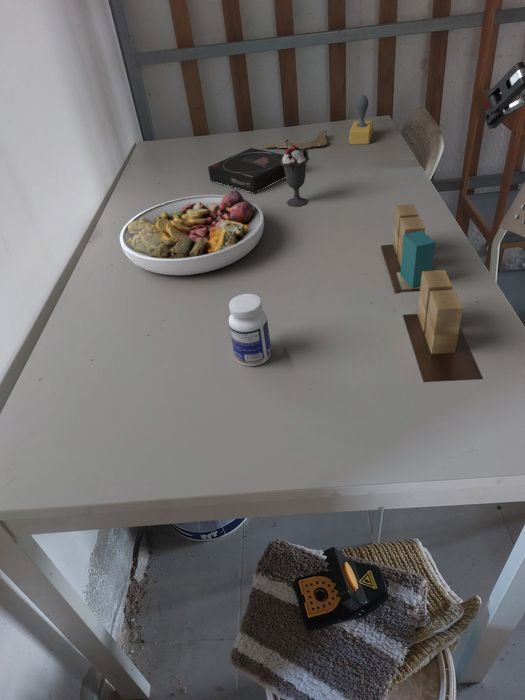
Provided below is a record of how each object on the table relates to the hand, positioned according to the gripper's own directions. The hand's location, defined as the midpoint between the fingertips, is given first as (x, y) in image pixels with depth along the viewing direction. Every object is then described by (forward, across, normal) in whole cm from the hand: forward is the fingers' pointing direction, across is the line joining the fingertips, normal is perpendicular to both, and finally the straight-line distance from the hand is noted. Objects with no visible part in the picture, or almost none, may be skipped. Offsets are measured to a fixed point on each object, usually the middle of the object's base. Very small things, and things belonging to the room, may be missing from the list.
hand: (518, 116), depth 68 cm
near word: (+14, +13, +26) cm, 32 cm away
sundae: (+57, +15, -16) cm, 61 cm away
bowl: (+49, +42, -8) cm, 65 cm away
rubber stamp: (+81, -16, -40) cm, 92 cm away
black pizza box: (+72, +20, -31) cm, 81 cm away
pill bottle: (+20, +39, +20) cm, 49 cm away
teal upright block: (+26, +7, +14) cm, 30 cm away
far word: (+30, +6, +11) cm, 32 cm away
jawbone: (+86, +2, -45) cm, 97 cm away
